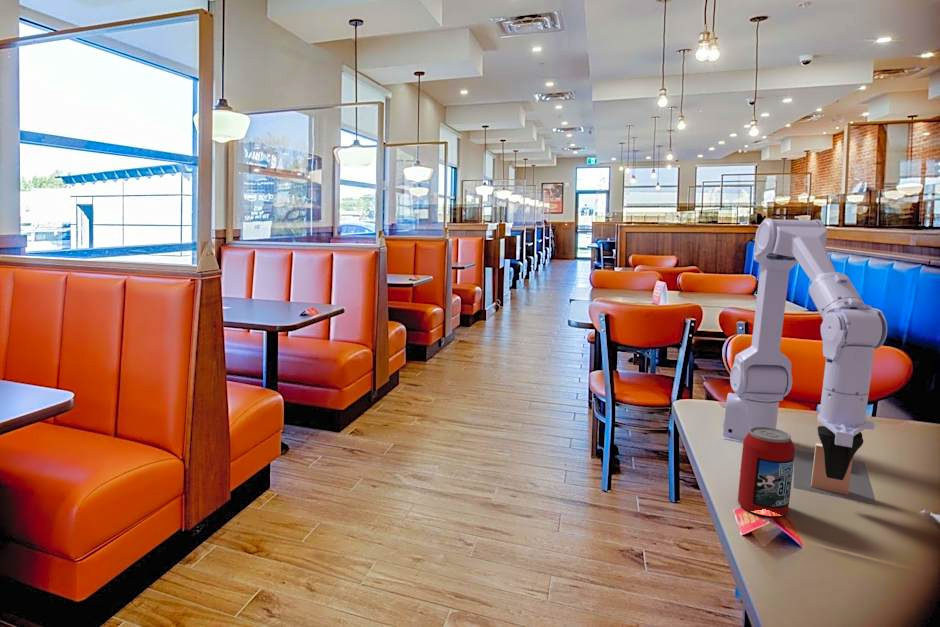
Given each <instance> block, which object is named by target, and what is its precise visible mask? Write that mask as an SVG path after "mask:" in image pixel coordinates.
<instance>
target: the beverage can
mask: <svg viewBox="0 0 940 627" xmlns="http://www.w3.org/2000/svg"><path fill="white" fill-rule="evenodd" d="M795 450H796V447H795V445H794V442H793V440H792V436H791V434H790V433H787V432H786V431H784V430H781V429H778V428H776V429H774V428H768V427H754V428H751V429H750V432H749V433H748V434H747V436H746V437H745V438H744V442H743V443H742V452H741V460H740V462H741V463H740V469H739V470H740V471H739V482H738V495H737V502H738V504H739V505H740V507H742V508H743V509H744V510H746V511H747V510H748V511H747V512H749V511H755V510H762V509H766V510H770V511H772V512H775V513H777V514H780V515H782V516H785V515H787V514H788V513H789V507H790V497H791V491H792V484H793V482H792V481H793V475H794V455H795ZM782 516H781V517H782Z"/></svg>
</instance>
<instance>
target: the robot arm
mask: <svg viewBox="0 0 940 627" xmlns="http://www.w3.org/2000/svg"><path fill="white" fill-rule="evenodd" d="M827 239H828V230H827V227H826V225H825V224H824V222H823V221H822V220H820V219H816V218H815V219H812V220H811V219H778V218H776V219H774V218H771V217H769V218H765V219H764V220H763V221H761V223H760V224H759V225H758V228H757V229H756V232H755V238H754V247H753V261H754V262H756V263H758V264H759V265H760V266H759V273H758V274H759V275H758V283H757V294H756V301H755V302H756V303H755V311H754V319H753V320H754V321H753V329H752V337H751V345H750V346H749V347H747V348H745V349H743V350H741V351H740V352H738V353H737V354H735V355H734V360H733V364H732V366H731V369H730V374H729V381H730V387H731V390H732V391H733V393H732V392H728V393H727V397H726V401H725V402H726V404H725V409H724V410H725V411H724V419H723V422H722V428H723V431H722V440H726V441H731V442H736V443H741V444H743V442H744V438H745V437H746V436H747V434H748V433H749V432H750V429H751V428H754V427H768V428H774V429H777V426H778V425H777V423H778V415H779V405H780V401H783V400H784V397H786V396H787V395H788V394H789V393H790V392H791V390H792V386H793V375H792V361H791V360H790V359H789V357H788V356H786V354H784V353H783V352H782V351H781V343H782V336H783V328H784V327H783V326H784V318H785V310H786V302H787V295H788V286H789V285H788V284H789V278H790V277H789V276H790V271H791V270H792V269H793V268H794V267H795V266H796V265H797V264H799V266H800V267H801V268H802V270H803V272H804V273H805V274H806V276H807V277H808V278H809V279H810V281H811V284H810V285H809V287H808V294H809V296H810V298H811V299H812V301H813V303H814V306H815V307H816V310H817V311H818V314H819V315H820V316H821V320H822V322H821V324H820V336H821V340H822V353H823V354H822V355H823V357H825V362H824V363H825V364H824V365H825V366H824V372H823V380H822V390H821V399H820V407H819V413H818V414H817V418H816V419H817V421H818V422H819V424H821V425H819V426H817V435H818V437H819V440H820V442H821V443H820V444H822V445H823V449H824V459H825V470H826V476H827V477H828V478H833V479H838V480H843V479H844V477H845V475H846V472H847V470H848V467H849V464H850V462H851V459H852V457H853V458H854V456H855V454H856V453H857V451H858V450H859V449H860V448H861V447H862V445H863V444H864V439H863V433H862V431H864V430H875V427H876V426H875V423H874V421H871V420H866V416H867V409H868V401H869V400H868V399H869V396H870V394H869V393H870V386H871V379H872V371H873V365H874V364H873V363H874V356H875V350H878V349H879V348H881V347H882V346H883V345H884V343H885V341H886V339H887V336H888V322H887V320H886V317H885V314H884V313H883V311H882V310H880V309H878V308H873V307H872V306H871V305H869V304H865V303H864V301H863V299H862V298H861V296H860V295H859V293H858V291H857V290H856V288H855V286H854V285H853V283H852V281H851V280H850V278H849V277H848V275H846V274H844V273H842V272H836V269H835V266H834V265H833V262H832V261H831V258H830V255H829V253H828V250H827V249H826V244H827Z"/></svg>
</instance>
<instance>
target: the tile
mask: <svg viewBox="0 0 940 627" xmlns="http://www.w3.org/2000/svg"><path fill="white" fill-rule="evenodd" d="M814 453H815V455H814V464H813V472H812V481H811V487H814V488H819V489H823V490H828V491H833V492H838V493H843V494H847V495H848V491H849V483H850V475H851V468H852V460H853V458H854V456H853V457H852V459H851V462H850V464H849V467H848V470H847V472H846V475H845V477H844V479H843V480H838V479H833V478H828V477H827V476H826V470H825V459H824V449H823V445H822V443H819V442H815V448H814Z"/></svg>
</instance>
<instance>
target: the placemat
mask: <svg viewBox="0 0 940 627" xmlns="http://www.w3.org/2000/svg"><path fill="white" fill-rule="evenodd" d="M814 455H815V452H810V451H804V450H798V449H795V455H794V465H793V489H798V490H803V491H807V492H810V493H811V492H812V493H817V494H820V495H821V494H822V495H827V496H830V497H831V496H832V497H837V498H839V499H845V500H849V501H850V500H851V501H855V502H860V503H864V504H869V505H873V506H877V502H876V500H875V496H874V492H873V489H872V485H871V482H870V478H869V475H868V472H867V468H866V464H865V462H863V461H859V460H852V468H851V475H850V483H849V491H848V495H847V494H843V493H838V492H833V491H828V490H823V489H819V488H814V487H811V481H812V472H813V464H814Z"/></svg>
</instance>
